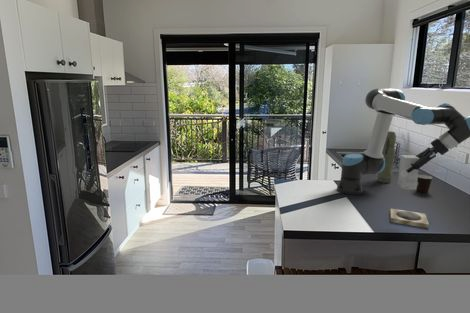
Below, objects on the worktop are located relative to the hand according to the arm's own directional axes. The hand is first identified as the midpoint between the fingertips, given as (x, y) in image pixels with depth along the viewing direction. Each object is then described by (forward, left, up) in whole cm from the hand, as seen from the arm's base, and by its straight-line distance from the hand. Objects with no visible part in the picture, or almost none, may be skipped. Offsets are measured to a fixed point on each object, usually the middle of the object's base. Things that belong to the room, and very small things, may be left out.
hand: (400, 173), depth 154 cm
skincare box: (+3, 0, -7) cm, 8 cm away
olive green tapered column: (-5, +68, -24) cm, 72 cm away
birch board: (+6, 0, -23) cm, 24 cm away
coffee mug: (+17, +55, -24) cm, 62 cm away
